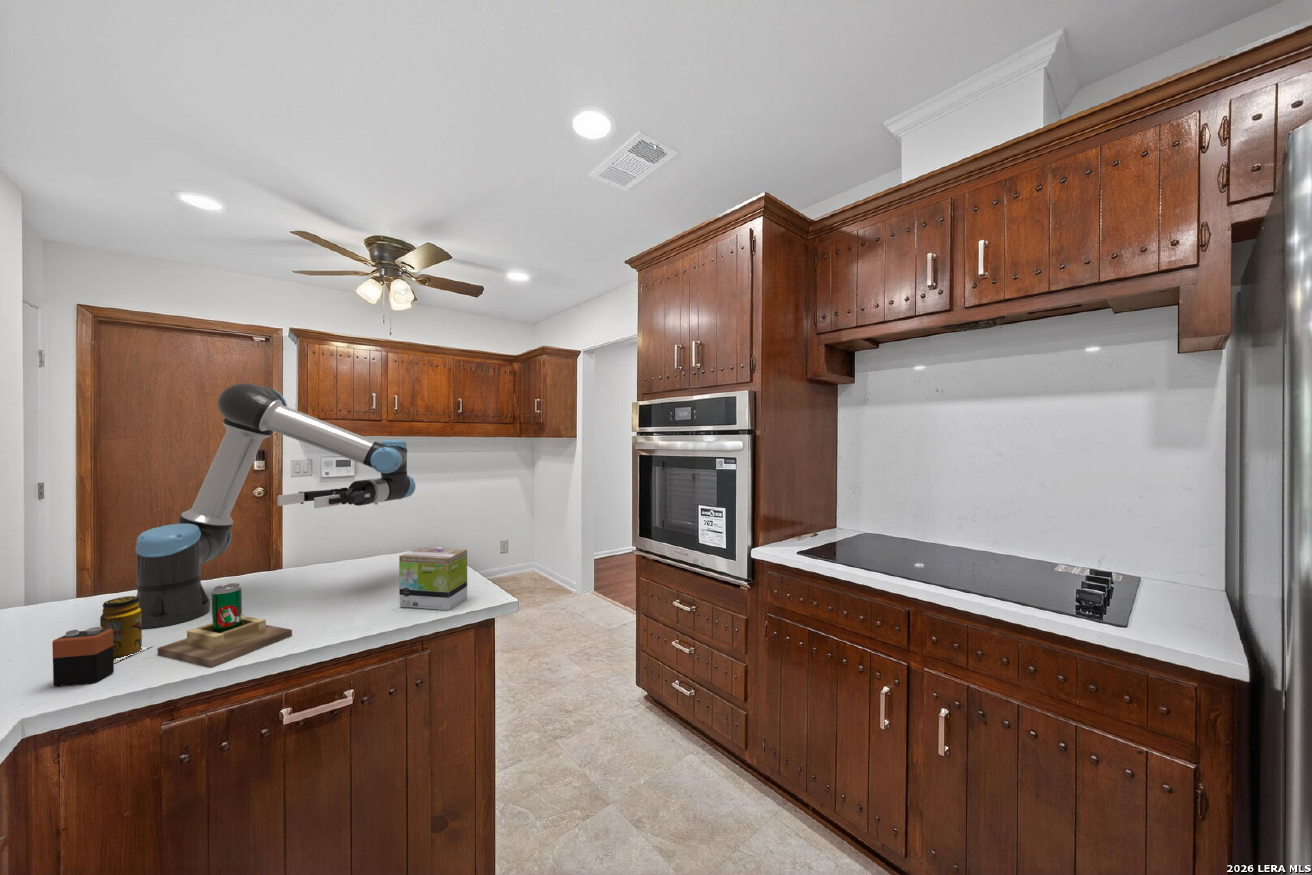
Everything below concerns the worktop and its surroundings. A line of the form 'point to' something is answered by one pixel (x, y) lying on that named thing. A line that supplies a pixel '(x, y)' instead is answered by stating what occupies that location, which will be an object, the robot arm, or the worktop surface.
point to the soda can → (226, 607)
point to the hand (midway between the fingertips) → (296, 501)
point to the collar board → (224, 642)
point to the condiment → (123, 625)
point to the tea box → (433, 578)
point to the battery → (83, 656)
